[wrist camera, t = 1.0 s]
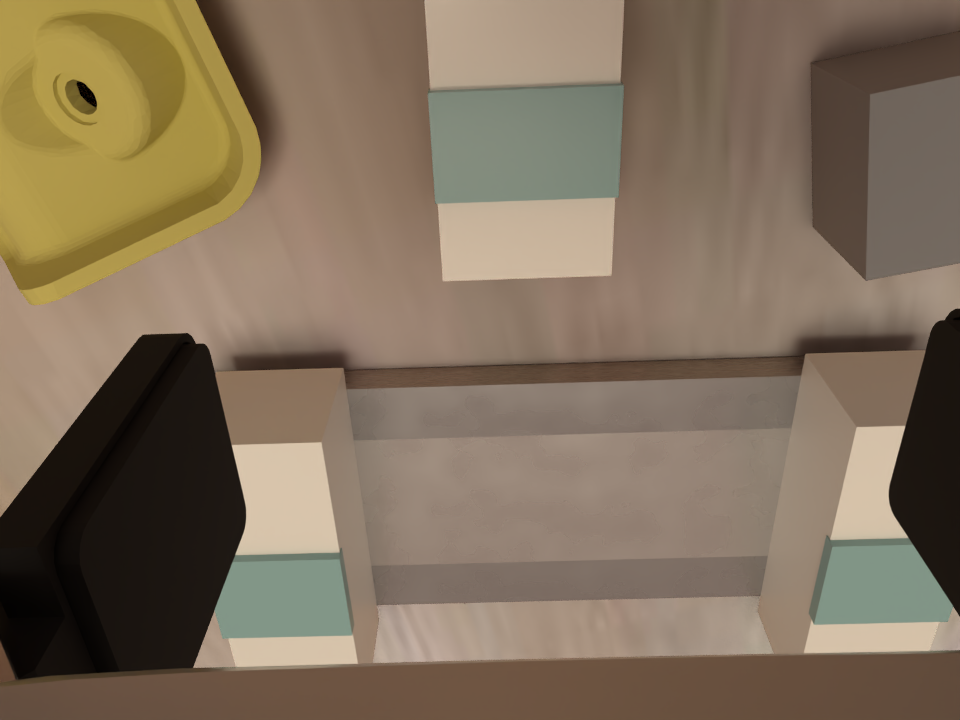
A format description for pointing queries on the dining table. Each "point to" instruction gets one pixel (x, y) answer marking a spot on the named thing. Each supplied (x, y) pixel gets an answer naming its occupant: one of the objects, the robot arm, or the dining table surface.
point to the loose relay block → (889, 156)
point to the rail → (571, 478)
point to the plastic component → (113, 137)
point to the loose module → (525, 135)
